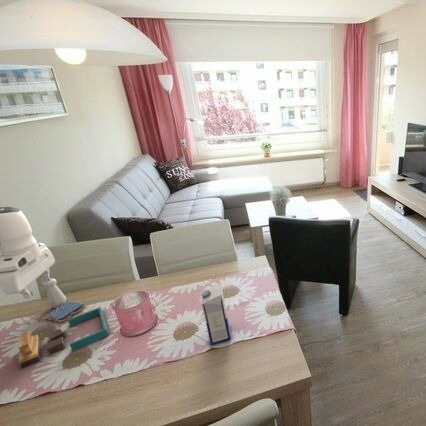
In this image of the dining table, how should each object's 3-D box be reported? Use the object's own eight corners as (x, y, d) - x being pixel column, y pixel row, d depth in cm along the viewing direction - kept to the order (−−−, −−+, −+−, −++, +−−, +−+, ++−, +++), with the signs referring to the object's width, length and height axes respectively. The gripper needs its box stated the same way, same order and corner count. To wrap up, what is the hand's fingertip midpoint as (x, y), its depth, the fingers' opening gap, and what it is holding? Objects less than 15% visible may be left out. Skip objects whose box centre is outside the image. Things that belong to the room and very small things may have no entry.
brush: (22, 368, 98) (13, 351, 95) (24, 347, 106) (16, 332, 104) (39, 360, 100) (31, 344, 98) (40, 341, 109) (33, 325, 106)
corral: (72, 351, 104) (69, 344, 103) (70, 325, 116) (67, 319, 115) (108, 335, 110) (106, 329, 109) (102, 312, 123) (100, 306, 122)
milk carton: (230, 340, 105) (221, 294, 98) (211, 345, 103) (200, 299, 96) (229, 326, 112) (220, 282, 104) (210, 331, 110) (200, 287, 102)
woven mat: (69, 303, 130) (68, 299, 129) (87, 306, 127) (85, 303, 126) (43, 319, 120) (41, 315, 120) (62, 323, 118) (60, 319, 117)
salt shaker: (47, 308, 127) (35, 283, 122) (60, 300, 132) (49, 276, 127) (58, 309, 126) (47, 284, 121) (71, 301, 131) (60, 276, 126)
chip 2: (50, 354, 103) (47, 348, 102) (50, 347, 106) (47, 342, 105) (65, 348, 105) (62, 342, 104) (64, 341, 108) (62, 336, 107)
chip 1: (52, 344, 107) (50, 339, 106) (49, 340, 109) (46, 335, 108) (65, 337, 110) (63, 332, 109) (62, 333, 112) (59, 328, 111)
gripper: (32, 241, 105) (46, 274, 110) (-14, 271, 87) (5, 309, 92) (52, 239, 107) (65, 272, 112) (11, 268, 88) (29, 305, 93)
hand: (38, 289), depth 101 cm, fingers open, 8 cm apart
